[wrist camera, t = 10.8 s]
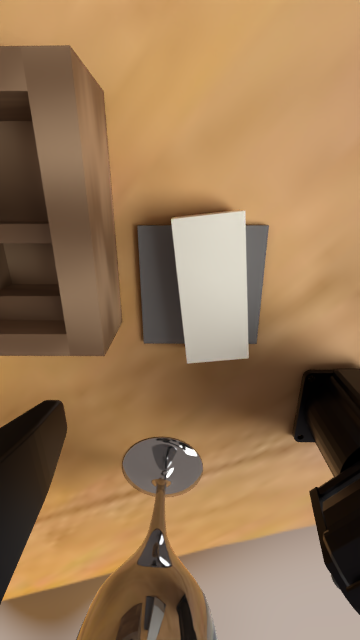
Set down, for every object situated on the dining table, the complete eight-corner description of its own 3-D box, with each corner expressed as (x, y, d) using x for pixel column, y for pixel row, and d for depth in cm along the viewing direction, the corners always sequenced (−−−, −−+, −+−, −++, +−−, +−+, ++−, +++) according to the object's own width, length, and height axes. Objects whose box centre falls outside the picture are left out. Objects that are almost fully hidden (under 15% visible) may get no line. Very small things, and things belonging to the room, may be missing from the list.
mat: (255, 341, 21) (256, 343, 21) (144, 340, 21) (143, 343, 21) (267, 225, 18) (268, 225, 18) (138, 225, 18) (137, 225, 18)
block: (243, 344, 21) (248, 358, 19) (186, 349, 21) (187, 363, 19) (238, 209, 18) (245, 210, 16) (172, 217, 18) (170, 219, 16)
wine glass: (205, 500, 27) (227, 808, 14) (120, 499, 28) (55, 802, 14) (209, 434, 25) (242, 739, 11) (114, 432, 25) (22, 732, 11)
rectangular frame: (122, 321, 21) (104, 355, 16) (-4, 321, 21) (-57, 355, 16) (103, 91, 16) (70, 45, 11) (-62, 92, 16) (-163, 48, 11)
